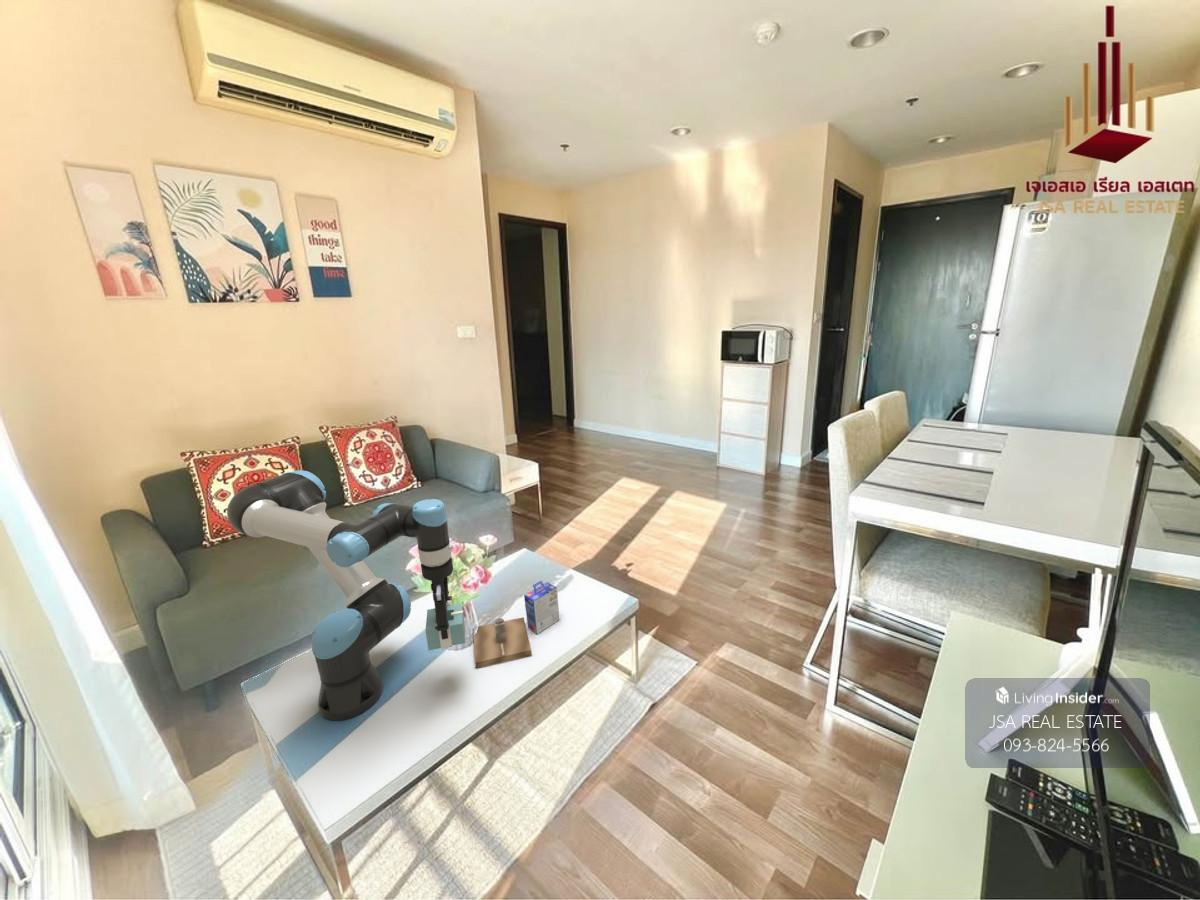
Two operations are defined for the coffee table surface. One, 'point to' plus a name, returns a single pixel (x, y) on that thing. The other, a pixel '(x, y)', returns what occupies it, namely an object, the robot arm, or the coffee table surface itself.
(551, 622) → the ink cartridge box
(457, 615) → the gray-green box with recess
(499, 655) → the brown wooden base
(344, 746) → the coffee table surface
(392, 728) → the coffee table surface
